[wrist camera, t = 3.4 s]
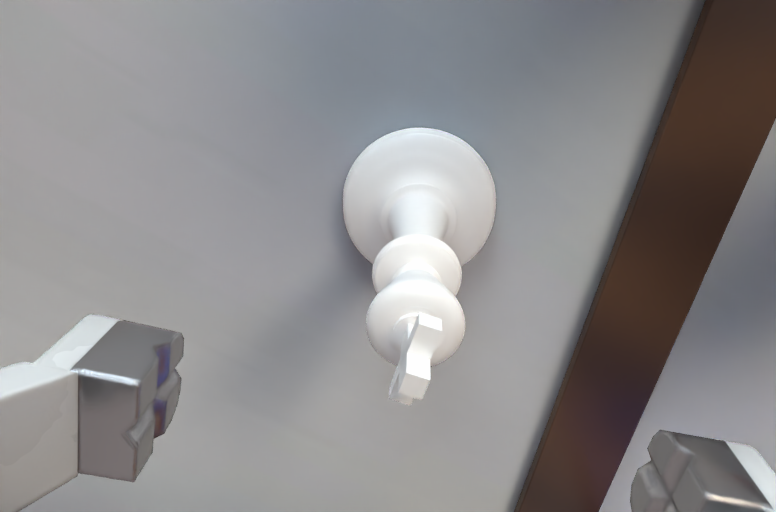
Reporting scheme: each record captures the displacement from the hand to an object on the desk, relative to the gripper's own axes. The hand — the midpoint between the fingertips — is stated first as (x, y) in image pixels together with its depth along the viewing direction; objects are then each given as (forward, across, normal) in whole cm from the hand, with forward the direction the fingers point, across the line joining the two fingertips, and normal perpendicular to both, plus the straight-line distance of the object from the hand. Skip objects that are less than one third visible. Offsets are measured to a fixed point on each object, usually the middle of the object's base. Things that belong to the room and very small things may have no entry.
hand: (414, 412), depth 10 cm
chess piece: (+10, 0, -1) cm, 10 cm away
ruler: (+10, -8, +3) cm, 13 cm away
